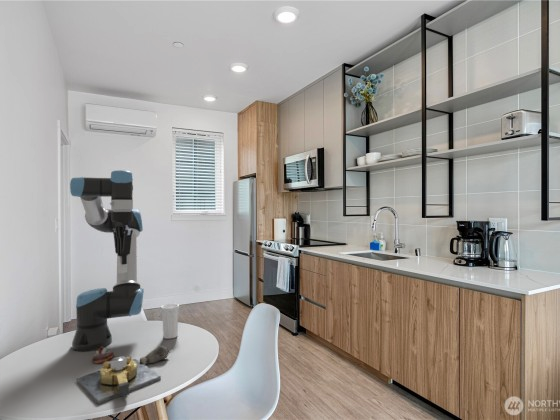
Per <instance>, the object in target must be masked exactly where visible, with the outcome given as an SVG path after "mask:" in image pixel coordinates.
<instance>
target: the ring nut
mask: <svg viewBox="0 0 560 420" xmlns="http://www.w3.org/2000/svg"><path fill="white" fill-rule="evenodd" d="M125 357H126V356H125ZM126 358H127V365H126V370H123V371H119V372H113V369H112V368H111V361H106V362H104V363H103V366H102V367H100V369H99V371H100V379H101V383H103V384H110V385H113V384H114V385H115V384H117V388H118V392H119V396H118V397H119V398H121V397H125V396H129V395H130V394H129V393H130V392H129V383H128V381H129V380H130V379H132V378H133V377H134V376H136V375H137V364H136V362H135V361H133V359H132V356H127V357H126ZM127 380H128V381H127Z"/></svg>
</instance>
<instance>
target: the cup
mask: <svg viewBox="0 0 560 420" xmlns="http://www.w3.org/2000/svg"><path fill="white" fill-rule="evenodd" d="M179 309H180V304H178V303H174V302H173V303H165V304H163V305H161V307H160V310H161V316H162V333H163V334H162V337H163V338H164V339H169V340H170V339H175V338H176V337H178V330H179V329H178V328H179Z"/></svg>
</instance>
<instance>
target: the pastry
mask: <svg viewBox="0 0 560 420" xmlns="http://www.w3.org/2000/svg"><path fill="white" fill-rule="evenodd" d="M113 358H115V354H114V352H113V351H112V350H108V349H107V348H106V347H103V346H101V347H100V348H99V349H96V352H95V353H94V356H93V357H92V363H93V364H96V365H104V362H106V361H109V362H111V360H112V359H113Z"/></svg>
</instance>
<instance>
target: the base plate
mask: <svg viewBox="0 0 560 420" xmlns="http://www.w3.org/2000/svg"><path fill="white" fill-rule="evenodd" d="M132 360H133V361H135V362H136V364H137V375H136V376H134V377H133V378H132V379H130V380H129V381H128V380H127V381H128V383H129V393H130V392H133V391H136V390H138V389H140V388H143V387H145V386H148V385H151V384H152V383H153V384H154V383H155V382H158V381H160V380H162V379H161V377H162V376H161V375H160V374H159V373H157V372H156V371H155V370H153V369H151V368H149V366H147V365H146V364H145V365H144V364H142V363H141V362H140V360H138V359H136V358H133V359H132ZM110 362H111V368H112V369H113V372H119V371H123V370H126V365H127V358H126V356H124V355H123V356H117V357H116V356H115V357H113V358H112V360H110ZM76 383H77V384H78V385H79V386H80V387H81V388H82V389H83V391H85V392H86V393H87V394H88V395H89V397H90V398H91V399H92V400H93V401H94V402H95V403H96V404H97V405H100V404H103V403H106V402H108V401H111V400H113V399H115V398H118V397H119V392H118V388H117V384H115V385H114V384H113V385H110V384H103V383H101V379H100V370H97V371H95V372H92V373H89V374H85V375H82V376H79V377H77V378H76Z"/></svg>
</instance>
